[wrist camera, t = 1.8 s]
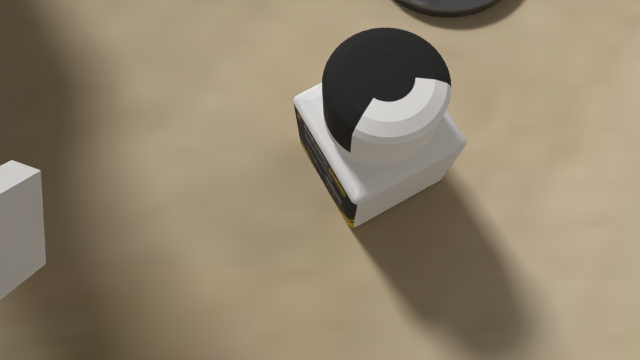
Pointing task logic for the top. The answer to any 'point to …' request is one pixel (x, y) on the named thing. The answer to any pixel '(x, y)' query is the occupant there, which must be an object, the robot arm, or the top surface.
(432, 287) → the top surface
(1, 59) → the top surface
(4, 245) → the robot arm
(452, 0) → the pad
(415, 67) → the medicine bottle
